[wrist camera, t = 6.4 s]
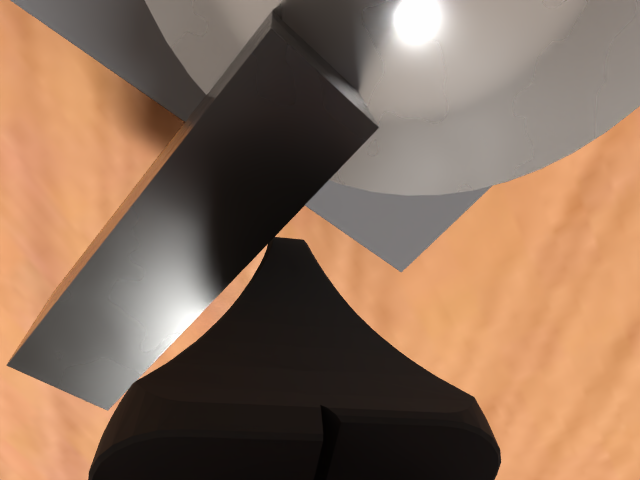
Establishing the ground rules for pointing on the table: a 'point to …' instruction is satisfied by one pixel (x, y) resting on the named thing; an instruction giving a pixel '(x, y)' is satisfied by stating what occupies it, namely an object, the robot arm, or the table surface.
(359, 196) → the charcoal trivet mat
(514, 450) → the table surface
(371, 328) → the robot arm
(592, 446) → the table surface
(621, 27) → the cooker lid
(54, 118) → the table surface
